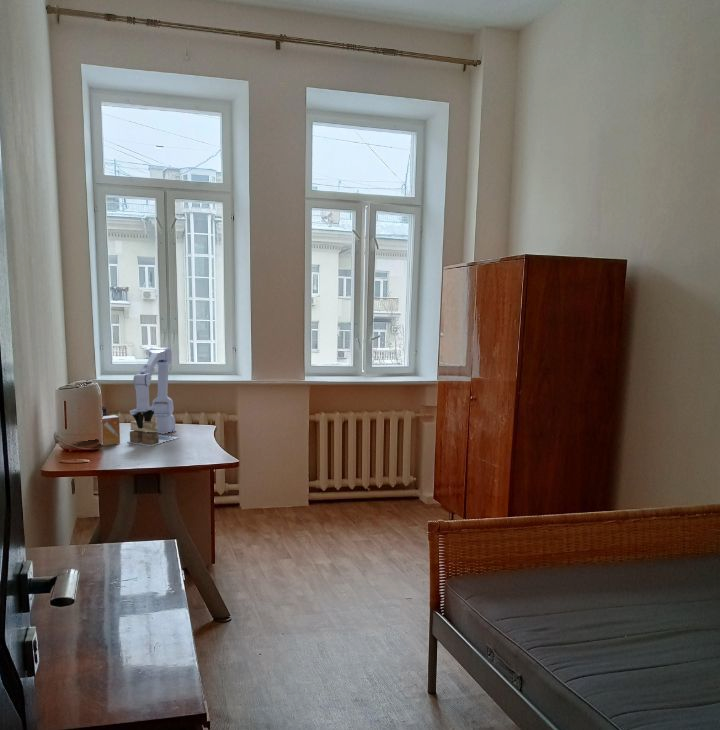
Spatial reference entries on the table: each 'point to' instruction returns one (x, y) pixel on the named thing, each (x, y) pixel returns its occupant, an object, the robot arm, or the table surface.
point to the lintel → (145, 426)
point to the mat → (161, 440)
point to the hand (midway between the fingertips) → (143, 427)
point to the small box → (111, 430)
